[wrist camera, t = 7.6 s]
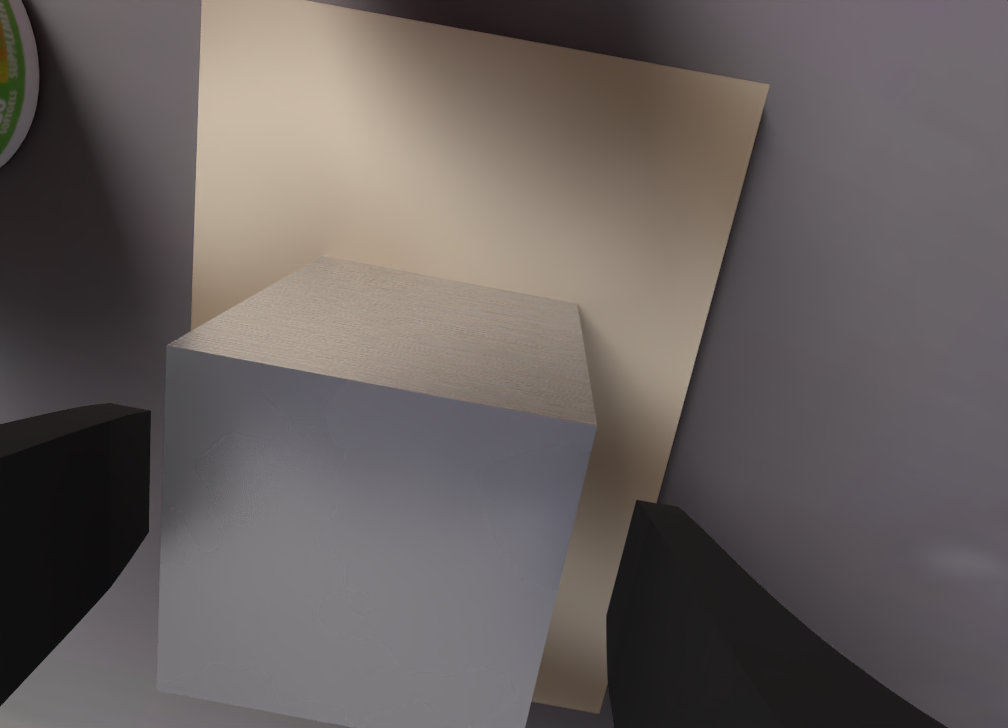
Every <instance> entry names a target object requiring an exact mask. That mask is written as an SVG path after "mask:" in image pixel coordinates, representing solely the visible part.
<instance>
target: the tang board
mask: <svg viewBox="0 0 1008 728" xmlns="http://www.w3.org/2000/svg"><path fill="white" fill-rule="evenodd" d="M769 86H770V85H769V84H764V83H758V82H753V81H747V80H742V79H736V78H731V77H725V76H720V75H714V74H708V73H703V72H697V71H692V70H686V69H681V68H675V67H670V66H664V65H659V64H653V63H648V62H642V61H637V60H631V59H626V58H620V57H615V56H609V55H604V54H598V53H593V52H587V51H582V50H576V49H571V48H565V47H559V46H554V45H548V44H543V43H537V42H532V41H526V40H521V39H515V38H510V37H504V36H499V35H493V34H488V33H482V32H477V31H471V30H466V29H460V28H455V27H449V26H444V25H438V24H433V23H427V22H422V21H416V20H411V19H405V18H399V17H394V16H388V15H383V14H377V13H372V12H366V11H361V10H355V9H350V8H344V7H339V6H333V5H328V4H322V3H317V2H311V1H306V0H202V13H201V43H200V73H199V103H198V133H197V162H196V192H195V222H194V252H193V282H192V312H191V331H192V330H194V329H196V328H197V327H199V326H201V325H203V324H204V323H206V322H208V321H210V320H211V319H213V318H215V317H216V316H218V315H220V314H222V313H223V312H225V311H227V310H229V309H230V308H232V307H234V306H236V305H237V304H239V303H241V302H243V301H244V300H246V299H248V298H250V297H251V296H253V295H255V294H257V293H258V292H260V291H262V290H263V289H265V288H267V287H269V286H270V285H272V284H274V283H276V282H277V281H279V280H281V279H283V278H284V277H286V276H288V275H290V274H291V273H293V272H295V271H297V270H298V269H300V268H302V267H303V266H305V265H307V264H309V263H310V262H312V261H314V260H316V259H317V258H319V257H321V256H327V257H332V258H337V259H343V260H348V261H353V262H359V263H364V264H369V265H374V266H380V267H385V268H390V269H396V270H401V271H406V272H412V273H417V274H422V275H428V276H433V277H438V278H444V279H449V280H454V281H460V282H465V283H470V284H476V285H481V286H486V287H491V288H497V289H502V290H507V291H513V292H518V293H523V294H529V295H534V296H539V297H545V298H550V299H555V300H561V301H566V302H571V303H577V305H578V312H579V318H580V324H581V330H582V336H583V342H584V348H585V355H586V361H587V367H588V373H589V379H590V385H591V391H592V398H593V404H594V410H595V416H596V422H597V429H596V433H595V437H594V442H593V446H592V450H591V454H590V458H589V462H588V467H587V471H586V475H585V479H584V483H583V488H582V492H581V496H580V500H579V504H578V508H577V513H576V517H575V521H574V525H573V529H572V534H571V538H570V542H569V546H568V550H567V554H566V559H565V563H564V567H563V571H562V575H561V579H560V584H559V588H558V592H557V596H556V600H555V605H554V609H553V613H552V617H551V621H550V625H549V630H548V634H547V638H546V642H545V646H544V651H543V655H542V659H541V663H540V667H539V671H538V676H537V680H536V684H535V688H534V692H533V697H532V701H531V702H536V703H542V704H547V705H553V706H558V707H564V708H569V709H575V710H580V711H586V712H591V713H597V714H599V713H600V710H601V706H602V702H603V699H604V695H605V691H606V688H607V684H608V679H607V650H606V615H607V611H608V607H609V603H610V599H611V595H612V591H613V588H614V584H615V580H616V576H617V572H618V568H619V564H620V561H621V557H622V553H623V549H624V545H625V541H626V537H627V534H628V530H629V526H630V522H631V518H632V514H633V511H634V507H635V503H636V500H641V501H647V502H652V503H657V499H658V496H659V492H660V488H661V485H662V481H663V477H664V473H665V470H666V466H667V462H668V459H669V455H670V451H671V448H672V444H673V440H674V437H675V433H676V429H677V425H678V422H679V418H680V414H681V411H682V407H683V403H684V400H685V396H686V392H687V389H688V385H689V381H690V377H691V374H692V370H693V366H694V363H695V359H696V355H697V352H698V348H699V344H700V341H701V337H702V333H703V329H704V326H705V322H706V318H707V315H708V311H709V307H710V304H711V300H712V296H713V293H714V289H715V285H716V281H717V278H718V274H719V270H720V267H721V263H722V259H723V256H724V252H725V248H726V245H727V241H728V237H729V233H730V230H731V226H732V222H733V219H734V215H735V211H736V208H737V204H738V200H739V197H740V193H741V189H742V185H743V182H744V178H745V174H746V171H747V167H748V163H749V160H750V156H751V152H752V149H753V145H754V141H755V137H756V134H757V130H758V126H759V123H760V119H761V115H762V112H763V108H764V104H765V101H766V97H767V93H768V90H769Z"/></svg>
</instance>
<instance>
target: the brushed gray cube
mask: <svg viewBox="0 0 1008 728" xmlns="http://www.w3.org/2000/svg"><path fill="white" fill-rule="evenodd" d="M596 429H597V422H596V416H595V410H594V404H593V398H592V391H591V385H590V379H589V373H588V367H587V361H586V355H585V348H584V342H583V336H582V330H581V324H580V318H579V312H578V305H577V303H571V302H566V301H561V300H555V299H550V298H545V297H539V296H534V295H529V294H523V293H518V292H513V291H507V290H502V289H497V288H491V287H486V286H481V285H476V284H470V283H465V282H460V281H454V280H449V279H444V278H438V277H433V276H428V275H422V274H417V273H412V272H406V271H401V270H396V269H390V268H385V267H380V266H374V265H369V264H364V263H359V262H353V261H348V260H343V259H337V258H332V257H327V256H321V257H319V258H317V259H316V260H314V261H312V262H310V263H309V264H307V265H305V266H303V267H302V268H300V269H298V270H297V271H295V272H293V273H291V274H290V275H288V276H286V277H284V278H283V279H281V280H279V281H277V282H276V283H274V284H272V285H270V286H269V287H267V288H265V289H263V290H262V291H260V292H258V293H257V294H255V295H253V296H251V297H250V298H248V299H246V300H244V301H243V302H241V303H239V304H237V305H236V306H234V307H232V308H230V309H229V310H227V311H225V312H223V313H222V314H220V315H218V316H216V317H215V318H213V319H211V320H210V321H208V322H206V323H204V324H203V325H201V326H199V327H197V328H196V329H194V330H192V331H190V332H189V333H187V334H185V335H183V336H182V337H180V338H178V339H176V340H175V341H173V342H171V343H170V344H168V345H167V346H166V380H165V415H164V449H163V484H162V518H161V553H160V587H159V622H158V656H157V691H161V692H166V693H171V694H177V695H182V696H187V697H193V698H198V699H203V700H209V701H214V702H219V703H225V704H230V705H235V706H241V707H246V708H251V709H257V710H262V711H267V712H273V713H278V714H283V715H289V716H294V717H299V718H304V719H310V720H315V721H320V722H326V723H331V724H336V725H342V726H347V727H352V728H525V726H526V722H527V717H528V713H529V709H530V705H531V701H532V697H533V692H534V688H535V684H536V680H537V676H538V671H539V667H540V663H541V659H542V655H543V651H544V646H545V642H546V638H547V634H548V630H549V625H550V621H551V617H552V613H553V609H554V605H555V600H556V596H557V592H558V588H559V584H560V579H561V575H562V571H563V567H564V563H565V559H566V554H567V550H568V546H569V542H570V538H571V534H572V529H573V525H574V521H575V517H576V513H577V508H578V504H579V500H580V496H581V492H582V488H583V483H584V479H585V475H586V471H587V467H588V462H589V458H590V454H591V450H592V446H593V442H594V437H595V433H596Z"/></svg>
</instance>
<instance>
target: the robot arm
mask: <svg viewBox="0 0 1008 728" xmlns="http://www.w3.org/2000/svg"><path fill="white" fill-rule="evenodd" d="M150 427H151V411H149V410H143V409H138V408H132V407H127V406H121V405H116V404H111V403H109V404H98V405H90V406H84V407H78V408H72V409H67V410H62V411H58V412H53V413H48V414H44V415H39V416H35V417H30V418H26V419H22V420H17V421H13V422H9V423H4V424H0V706H1V705H2V704H3V703H4V702H5V701H6V700H7V699H8V697H9V696H10V695H11V694H12V693H13V692H14V691H15V690H16V689H17V688H18V687H19V686H20V685H21V684H22V682H23V681H24V680H25V679H26V678H27V677H28V676H29V675H30V674H31V673H32V672H33V671H34V670H35V669H36V668H37V666H38V665H39V664H40V663H41V662H42V661H43V660H44V659H45V658H46V657H47V656H48V655H49V654H50V653H51V652H52V650H53V649H54V648H55V647H56V646H57V645H58V644H59V643H60V642H61V641H62V640H63V639H64V638H65V637H66V636H67V634H68V633H69V632H70V631H71V630H72V629H73V628H74V627H75V626H76V625H77V624H78V623H79V621H80V620H81V619H82V618H83V617H84V616H85V615H86V614H87V613H88V612H89V611H90V609H91V608H92V607H93V606H94V605H95V604H96V603H97V602H98V601H99V600H100V598H101V597H102V596H103V595H104V594H105V593H106V592H107V591H108V590H109V588H110V587H111V586H112V584H113V583H114V582H115V580H116V579H117V578H118V576H119V575H120V573H121V572H122V571H123V569H124V568H125V567H126V565H127V564H128V562H129V561H130V559H131V558H132V556H133V555H134V553H135V552H136V550H137V549H138V547H139V546H140V544H141V543H142V541H143V540H144V538H145V537H146V535H147V534H148V532H149V485H150ZM606 650H607V679H608V687H609V694H610V701H611V707H612V714H613V721H614V727H615V728H947V727H946V726H944V725H943V724H941V723H940V722H938V721H936V720H935V719H933V718H932V717H930V716H928V715H927V714H925V713H924V712H922V711H920V710H919V709H917V708H916V707H914V706H913V705H911V704H910V703H908V702H907V701H905V700H904V699H902V698H901V697H900V696H898V695H897V694H895V693H894V692H892V691H891V690H889V689H888V688H886V687H885V686H884V685H882V684H881V683H879V682H878V681H877V680H875V679H874V678H873V677H871V676H870V675H869V674H867V673H866V672H865V671H863V670H862V669H860V668H859V667H858V666H856V665H855V664H854V663H852V662H851V661H850V660H848V659H847V658H845V657H844V656H843V655H841V654H840V653H839V652H837V651H836V650H835V649H834V648H832V647H831V646H830V645H829V644H827V643H826V642H825V641H824V640H822V639H821V638H820V637H819V636H817V635H816V634H815V633H814V632H813V631H811V630H810V629H809V628H808V627H807V626H806V625H804V624H803V623H802V622H801V621H800V620H799V619H797V618H796V617H795V616H794V615H793V614H792V613H790V612H789V611H788V610H787V609H786V608H785V607H783V606H782V605H781V604H780V603H779V602H778V601H777V600H776V599H774V598H773V597H772V596H771V595H770V594H769V593H768V592H767V591H766V590H765V589H764V588H762V587H761V586H760V585H759V584H758V583H757V582H756V581H755V580H754V579H753V578H752V577H751V576H750V575H749V574H748V573H747V572H746V571H745V570H743V569H742V568H741V567H740V566H739V565H738V564H737V563H736V562H735V561H734V560H733V559H732V558H731V557H730V556H729V555H728V554H727V553H726V552H725V551H724V550H723V549H722V548H721V547H720V546H719V545H718V544H717V543H716V542H715V541H714V540H713V539H712V538H711V537H710V536H709V535H708V534H707V533H706V532H705V531H704V530H703V529H702V528H701V527H700V526H699V525H698V524H697V523H696V522H694V521H693V520H692V519H691V518H690V517H689V516H688V515H687V514H686V513H685V512H683V511H682V510H681V509H679V508H678V507H674V506H669V505H663V504H658V503H652V502H647V501H641V500H636V503H635V507H634V511H633V514H632V518H631V522H630V526H629V530H628V534H627V537H626V541H625V545H624V549H623V553H622V557H621V561H620V564H619V568H618V572H617V576H616V580H615V584H614V588H613V591H612V595H611V599H610V603H609V607H608V611H607V615H606Z"/></svg>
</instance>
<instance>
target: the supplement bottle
mask: <svg viewBox="0 0 1008 728" xmlns="http://www.w3.org/2000/svg"><path fill="white" fill-rule="evenodd" d="M38 92H39V62H38V54H37V47H36V42H35V38H34V34H33V31H32V27H31V24H30V20H29V18H28V15H27V12H26V10H25V7H24V5H23V3H22V1H21V0H0V167H2V166H3V165H4V164H5V163H6V162H7V161H8V160H9V159H10V158H11V157H12V156H13V155H14V153H15V152H16V151H17V149H18V148H19V147H20V145H21V144H22V142H23V140H24V139H25V137H26V135H27V133H28V131H29V128H30V126H31V124H32V121H33V118H34V115H35V111H36V106H37V100H38Z"/></svg>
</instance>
